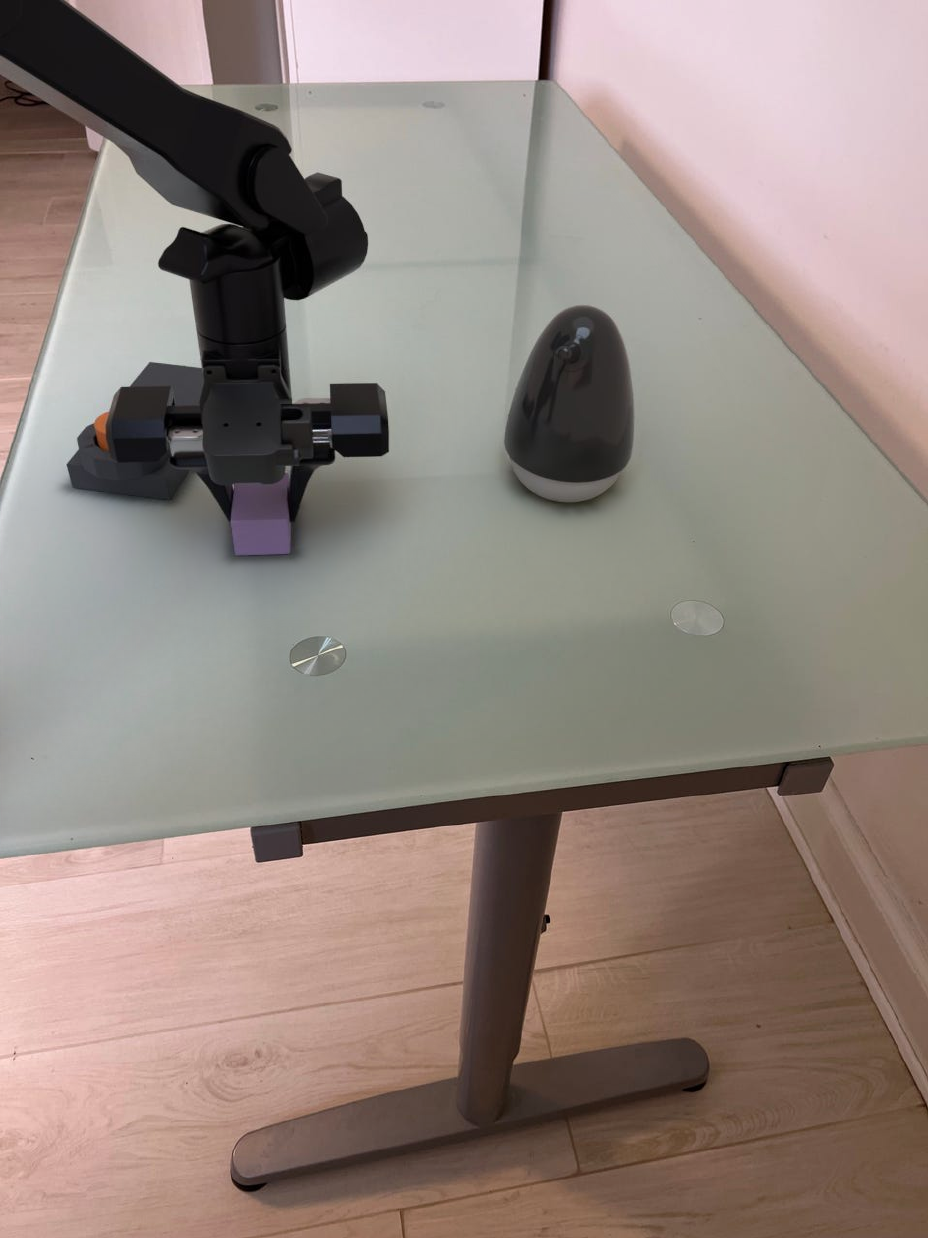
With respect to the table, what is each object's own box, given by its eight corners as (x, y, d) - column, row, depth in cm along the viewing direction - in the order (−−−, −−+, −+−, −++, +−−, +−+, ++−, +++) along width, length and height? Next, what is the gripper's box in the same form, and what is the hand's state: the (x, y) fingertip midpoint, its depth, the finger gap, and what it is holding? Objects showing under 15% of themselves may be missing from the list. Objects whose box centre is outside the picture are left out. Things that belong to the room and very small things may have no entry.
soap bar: (290, 554, 73) (287, 519, 71) (235, 556, 72) (230, 520, 70) (291, 506, 77) (288, 472, 75) (239, 507, 77) (234, 473, 75)
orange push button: (136, 456, 75) (132, 436, 74) (90, 450, 75) (85, 430, 74) (154, 431, 78) (150, 412, 76) (110, 426, 78) (105, 406, 77)
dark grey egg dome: (481, 501, 79) (494, 322, 69) (524, 438, 86) (542, 268, 76) (604, 535, 76) (636, 354, 66) (637, 467, 84) (671, 295, 73)
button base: (164, 509, 76) (156, 465, 73) (65, 496, 77) (53, 452, 74) (238, 393, 90) (233, 352, 87) (153, 383, 90) (146, 342, 87)
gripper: (68, 388, 57) (119, 595, 67) (394, 384, 59) (394, 584, 69) (98, 304, 65) (139, 499, 75) (383, 302, 67) (384, 492, 77)
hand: (262, 519), depth 74 cm, fingers closed on soap bar, 4 cm apart
